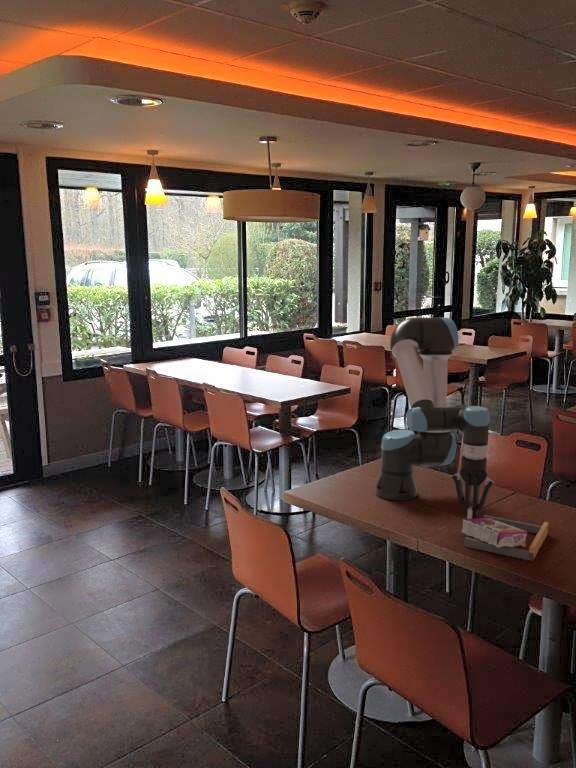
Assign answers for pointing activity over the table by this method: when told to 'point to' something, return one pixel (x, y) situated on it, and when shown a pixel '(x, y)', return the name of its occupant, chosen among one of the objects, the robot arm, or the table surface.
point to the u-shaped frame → (511, 551)
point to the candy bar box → (494, 532)
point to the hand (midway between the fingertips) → (470, 527)
